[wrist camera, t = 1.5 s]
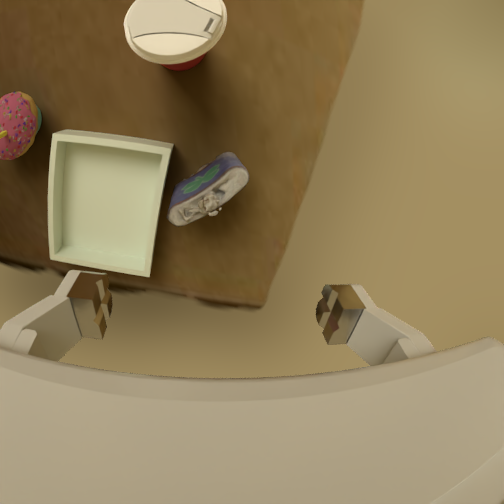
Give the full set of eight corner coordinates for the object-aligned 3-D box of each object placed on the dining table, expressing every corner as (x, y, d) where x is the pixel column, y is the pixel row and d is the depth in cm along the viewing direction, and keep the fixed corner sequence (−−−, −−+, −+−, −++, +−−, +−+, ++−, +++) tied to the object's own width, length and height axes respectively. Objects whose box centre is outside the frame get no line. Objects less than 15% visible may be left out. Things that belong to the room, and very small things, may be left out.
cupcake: (63, 104, 25) (10, 110, 15) (38, 162, 27) (-13, 192, 17) (21, 83, 21) (-35, 86, 11) (-1, 139, 24) (-55, 161, 13)
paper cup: (225, 33, 25) (246, -9, 13) (199, 87, 28) (202, 74, 16) (164, 15, 22) (148, -33, 10) (138, 70, 25) (102, 50, 13)
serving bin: (60, 245, 34) (50, 259, 30) (66, 129, 26) (52, 133, 23) (152, 261, 38) (149, 277, 35) (173, 143, 31) (171, 148, 28)
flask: (230, 147, 33) (245, 165, 24) (242, 166, 34) (261, 192, 25) (168, 188, 34) (159, 222, 25) (181, 205, 35) (178, 245, 26)
